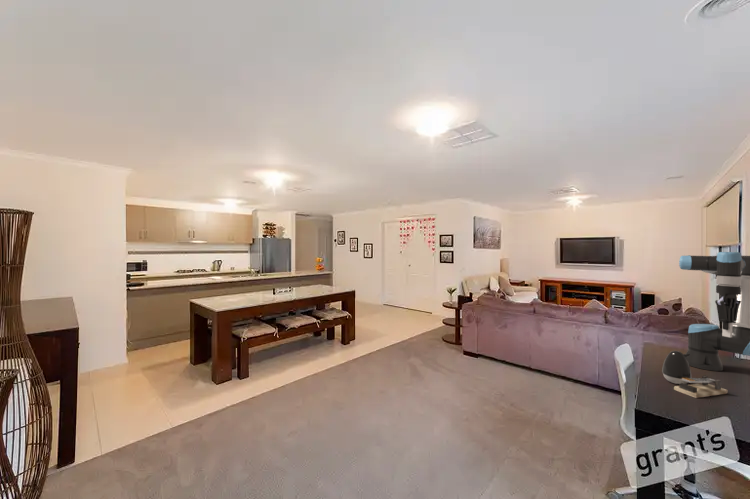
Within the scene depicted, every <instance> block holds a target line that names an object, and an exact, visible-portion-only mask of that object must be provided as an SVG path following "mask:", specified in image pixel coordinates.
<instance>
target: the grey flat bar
mask: <svg viewBox="0 0 750 499" xmlns="http://www.w3.org/2000/svg"><path fill="white" fill-rule="evenodd" d="M682 380H684V381H686V382H688V384H689V383H690V384H698V383H708V384H710V383H714V384H715V380H716V379H713V378H709V377H708V378H702V377H691V378H682Z"/></svg>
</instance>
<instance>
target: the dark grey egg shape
mask: <svg viewBox="0 0 750 499" xmlns="http://www.w3.org/2000/svg"><path fill="white" fill-rule="evenodd" d="M688 356H690V354H689V353H688V354H686V353H683V352H681V351H678V350H671V351H670V352H669V353H668V354H667V355H666V357H665V359H664V361H663V365H662V368H661V369H662V370H661V372H662V374H663V377H664V379H666V381H668V382H669V383H672V384H675V385H679V384H681V383H684V384H687V385H688V384H689V382H686V381H684V380H682V378H692V370H691V366H690V365H689V363H688V361H687V359H686V357H688Z"/></svg>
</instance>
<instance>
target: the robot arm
mask: <svg viewBox="0 0 750 499" xmlns="http://www.w3.org/2000/svg"><path fill="white" fill-rule="evenodd" d="M678 264H679V265H678V266H679V268H680V269H681V270H683V271H684V270H685V271H701V272H703V273H706V274H712V275H716V277H715V279H716V285H715V293H717V294H719V299H716V300H715V301H714V302H715V304H716V310H717V316H718V321H719V322H721V323H722V324H721V325H722V328H720V326H719V325H717V324H711V323H710V324H709V323H692V324H690V325H689V326H688V331H687V334H688V336H687V337H688V338H687V339H688V340H687V342H688V343H687V344H688V345H687V351H686V353H685V354H688V353H689V354H690V356H688V357H686V359H687V361H688V363H689V366H690V367H693V368H697V369H701V370H707V371H714V372H722V371H723V370H724V369H723V368H724V366H723V363H722V360H721V358H720V355H719V351H722V352H726V353H732V354H737V355H742V356H749V357H750V255H742V253H741V252H739V251H738V252H737V251H718V253H716V255H681V256H680V257H679V263H678Z"/></svg>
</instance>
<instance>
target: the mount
mask: <svg viewBox="0 0 750 499" xmlns="http://www.w3.org/2000/svg"><path fill="white" fill-rule="evenodd" d="M701 378H709V376H707V375H701ZM714 380H715V383H714V385H713V384H710V383H690V384H688V383H687V384H684V383H681V384H678V385H675V386H674V387H673V391H677V392H679V393H682V394H684V395H687V396H690V397H691V398H692V397H693V398H695V399H697V398H704V397H710V396H711V397H713V396H718V395H719V396H720V395H727V394H728V389H725V388H722V380H721V379H714Z"/></svg>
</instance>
